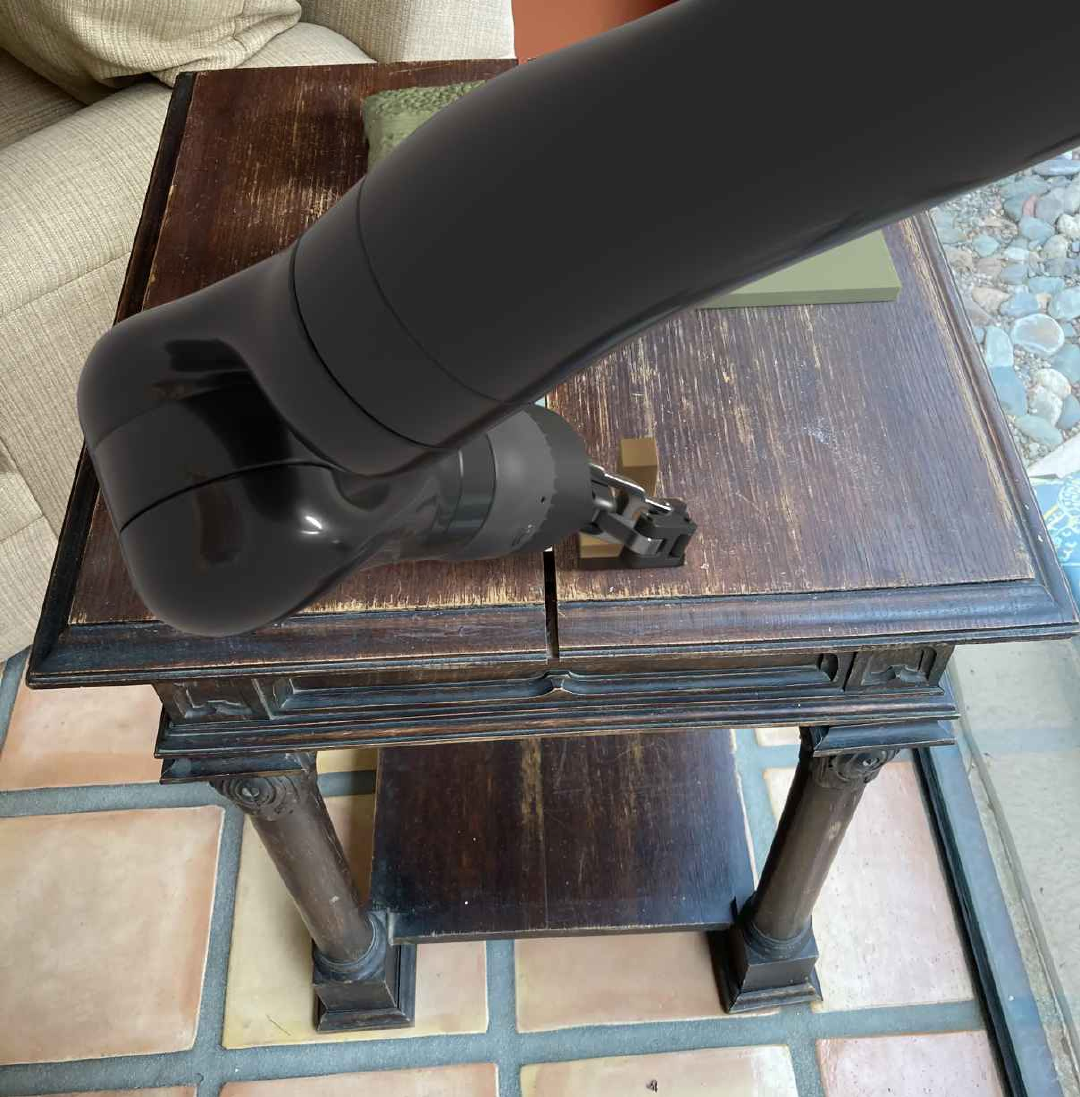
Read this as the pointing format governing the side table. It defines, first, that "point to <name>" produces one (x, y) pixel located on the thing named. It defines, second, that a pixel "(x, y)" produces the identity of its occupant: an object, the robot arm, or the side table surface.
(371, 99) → the washcloth
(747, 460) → the side table surface
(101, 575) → the side table surface
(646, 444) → the wooden rubber stamp
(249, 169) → the side table surface
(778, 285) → the tile board
